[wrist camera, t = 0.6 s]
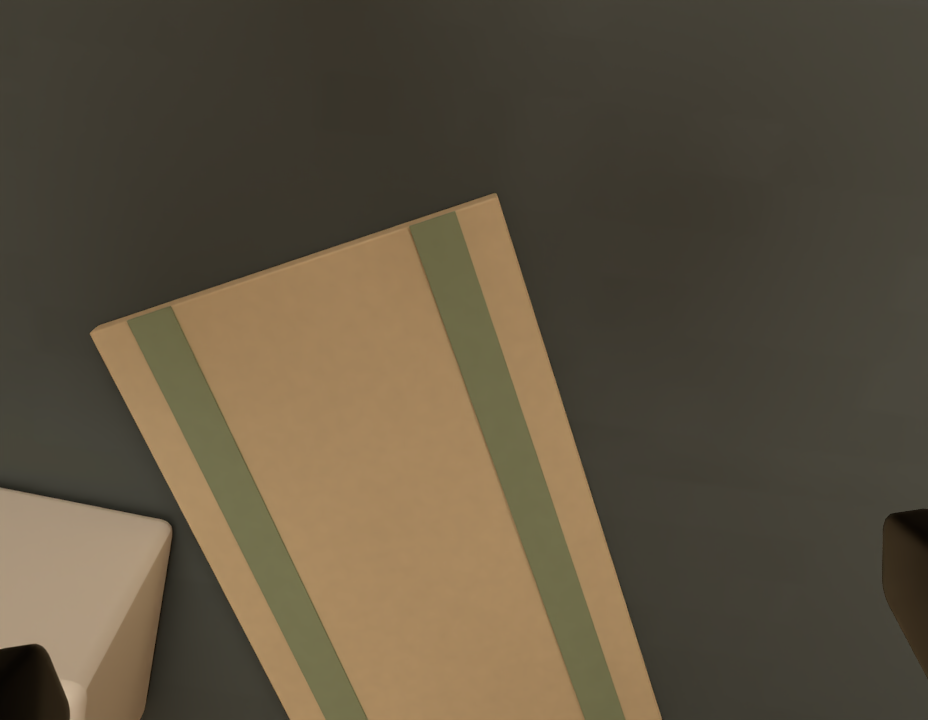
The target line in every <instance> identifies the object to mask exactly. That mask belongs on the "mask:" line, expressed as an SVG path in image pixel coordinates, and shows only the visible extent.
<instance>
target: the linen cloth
mask: <svg viewBox="0 0 928 720" xmlns="http://www.w3.org/2000/svg"><path fill="white" fill-rule="evenodd" d="M90 335H91V337H92V339H93V341H94V343H95V345H96V347H97V349H98V351H99V353H100V355H101V356H102V358H103V360H104V362H105V364H106V366H107V368H108V370H109V372H110V374H111V376H112V378H113V380H114V382H115V383H116V385H117V387H118V389H119V391H120V393H121V395H122V397H123V399H124V401H125V403H126V405H127V407H128V408H129V410H130V412H131V414H132V416H133V418H134V420H135V422H136V424H137V426H138V428H139V430H140V432H141V434H142V435H143V437H144V439H145V441H146V443H147V445H148V447H149V449H150V451H151V453H152V455H153V457H154V459H155V460H156V462H157V464H158V466H159V468H160V470H161V472H162V474H163V476H164V478H165V480H166V482H167V484H168V486H169V487H170V489H171V491H172V493H173V495H174V497H175V499H176V501H177V503H178V505H179V507H180V509H181V511H182V512H183V514H184V516H185V518H186V520H187V522H188V524H189V526H190V528H191V530H192V532H193V534H194V536H195V537H196V539H197V541H198V543H199V545H200V547H201V549H202V551H203V553H204V555H205V557H206V559H207V561H208V563H209V564H210V566H211V568H212V570H213V572H214V574H215V576H216V578H217V580H218V582H219V584H220V586H221V588H222V589H223V591H224V593H225V595H226V597H227V599H228V601H229V603H230V605H231V607H232V609H233V611H234V613H235V615H236V616H237V618H238V620H239V622H240V624H241V626H242V628H243V630H244V632H245V634H246V636H247V638H248V640H249V641H250V643H251V645H252V647H253V649H254V651H255V653H256V655H257V657H258V659H259V661H260V663H261V665H262V666H263V668H264V670H265V672H266V674H267V676H268V678H269V680H270V682H271V684H272V686H273V688H274V690H275V692H276V693H277V695H278V697H279V699H280V701H281V703H282V705H283V707H284V709H285V711H286V713H287V715H288V717H289V718H290V720H662V717H661V714H660V711H659V708H658V705H657V702H656V698H655V695H654V692H653V689H652V686H651V682H650V679H649V676H648V673H647V670H646V667H645V663H644V660H643V657H642V654H641V651H640V648H639V644H638V641H637V638H636V635H635V632H634V628H633V625H632V622H631V619H630V616H629V613H628V609H627V606H626V603H625V600H624V597H623V593H622V590H621V587H620V584H619V581H618V578H617V574H616V571H615V568H614V565H613V562H612V559H611V555H610V552H609V549H608V546H607V543H606V539H605V536H604V533H603V530H602V527H601V524H600V520H599V517H598V514H597V511H596V508H595V504H594V501H593V498H592V495H591V492H590V489H589V485H588V482H587V479H586V476H585V473H584V470H583V466H582V463H581V460H580V457H579V454H578V450H577V447H576V444H575V441H574V438H573V435H572V431H571V428H570V425H569V422H568V419H567V415H566V412H565V409H564V406H563V403H562V400H561V396H560V393H559V390H558V387H557V384H556V381H555V377H554V374H553V371H552V368H551V365H550V361H549V358H548V355H547V352H546V349H545V346H544V342H543V339H542V336H541V333H540V330H539V326H538V323H537V320H536V317H535V314H534V311H533V307H532V304H531V301H530V298H529V295H528V291H527V288H526V285H525V282H524V279H523V276H522V272H521V269H520V266H519V263H518V260H517V257H516V253H515V250H514V247H513V244H512V241H511V237H510V234H509V231H508V228H507V225H506V222H505V218H504V215H503V212H502V209H501V206H500V202H499V199H498V196H497V194H496V193H493V194H490V195H487V196H484V197H481V198H478V199H475V200H472V201H469V202H466V203H463V204H460V205H457V206H454V207H451V208H448V209H445V210H442V211H439V212H436V213H433V214H430V215H427V216H424V217H421V218H418V219H415V220H412V221H409V222H406V223H403V224H400V225H397V226H394V227H391V228H389V229H386V230H383V231H380V232H377V233H374V234H371V235H368V236H365V237H362V238H359V239H356V240H353V241H350V242H347V243H344V244H341V245H338V246H335V247H332V248H329V249H326V250H323V251H320V252H317V253H314V254H311V255H308V256H305V257H302V258H299V259H296V260H293V261H290V262H287V263H284V264H281V265H278V266H275V267H272V268H269V269H266V270H263V271H260V272H257V273H254V274H251V275H248V276H245V277H242V278H239V279H236V280H233V281H230V282H227V283H224V284H221V285H218V286H215V287H212V288H209V289H206V290H203V291H200V292H197V293H194V294H191V295H188V296H185V297H182V298H179V299H176V300H173V301H170V302H167V303H164V304H161V305H158V306H155V307H152V308H150V309H147V310H144V311H141V312H138V313H135V314H132V315H129V316H126V317H123V318H120V319H117V320H114V321H111V322H108V323H105V324H102V325H99V326H97V327H96V328H95V329H94V330H93V331H91V332H90Z"/></svg>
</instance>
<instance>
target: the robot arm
mask: <svg viewBox="0 0 928 720" xmlns="http://www.w3.org/2000/svg"><path fill="white" fill-rule="evenodd" d="M882 583H883V590H884V593H885V597H886V600H887V602H888V604H889V606H890V608H891V610H892V612H893V614H894V616H895V618H896V620H897V622H898V623H899V625H900V627H901V629H902V631H903V633H904V635H905V637H906V639H907V641H908V642H909V644H910V646H911V648H912V650H913V652H914V654H915V656H916V658H917V659H918V661H919V663H920V665H921V667H922V669H923V671H924V673H925V675H926V677H927V678H928V509H918V510H912V511H905V512H899V513H893V514H890V515H889V516H888V517H887V518H886V519H885V522H884V526H883V560H882ZM0 720H70V708H69V703H68V699H67V697H66V695H65V692H64V690H63V687H62V685H61V682H60V680H59V677H58V675H57V673H56V670H55V668H54V665H53V663H52V660H51V658H50V656H49V654H48V652H47V650H46V649H45V648H44V647H43V646H41V645H39V644H28V645H21V646H15V647H8V648H3V649H0Z"/></svg>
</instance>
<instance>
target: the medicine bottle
mask: <svg viewBox="0 0 928 720" xmlns="http://www.w3.org/2000/svg"><path fill="white" fill-rule="evenodd" d="M171 540H172V526H171V525H170V524H169V523H168V522H167V521H165V520H162V519H157V518H152V517H147V516H142V515H137V514H132V513H127V512H122V511H117V510H112V509H106V508H101V507H96V506H91V505H86V504H81V503H76V502H71V501H66V500H61V499H56V498H51V497H46V496H41V495H36V494H30V493H25V492H20V491H15V490H10V489H5V488H0V649H3V648H8V647H15V646H21V645H28V644H39V645H41V646H43V647H44V648H45V649H46V650H47V652H48V654H49V656H50V658H51V660H52V663H53V665H54V668H55V670H56V673H57V675H58V677H59V680H60V682H61V685H62V687H63V690H64V692H65V695H66V697H67V699H68V703H69V708H70V720H140V719H141V716H142V714H143V712H144V709H145V705H146V698H147V692H148V686H149V679H150V673H151V667H152V660H153V654H154V648H155V641H156V635H157V629H158V623H159V616H160V610H161V604H162V597H163V591H164V585H165V578H166V572H167V566H168V559H169V553H170V547H171Z"/></svg>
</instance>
